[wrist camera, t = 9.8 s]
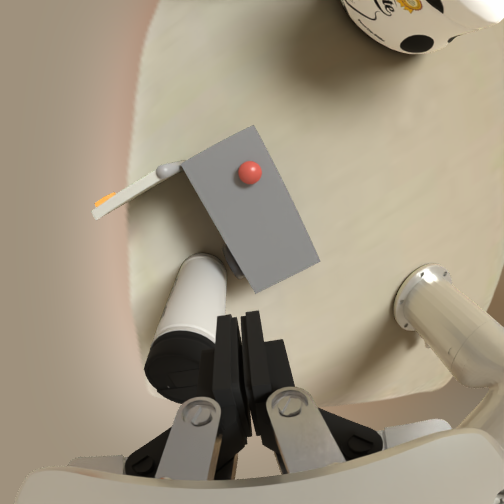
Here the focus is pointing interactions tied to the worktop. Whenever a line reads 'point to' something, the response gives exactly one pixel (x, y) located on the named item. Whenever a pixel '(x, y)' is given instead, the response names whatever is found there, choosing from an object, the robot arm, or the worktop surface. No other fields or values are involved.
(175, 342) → the travel mug
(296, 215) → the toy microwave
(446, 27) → the milk container
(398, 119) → the worktop surface
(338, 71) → the worktop surface
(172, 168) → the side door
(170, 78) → the worktop surface
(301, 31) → the worktop surface
